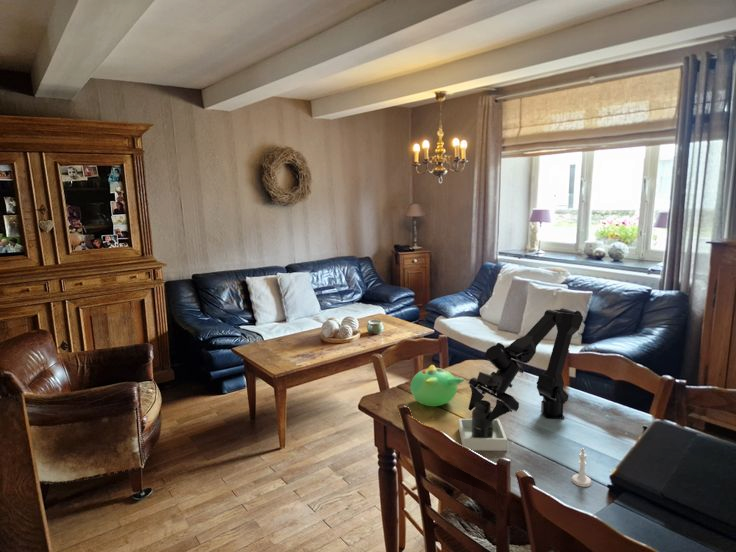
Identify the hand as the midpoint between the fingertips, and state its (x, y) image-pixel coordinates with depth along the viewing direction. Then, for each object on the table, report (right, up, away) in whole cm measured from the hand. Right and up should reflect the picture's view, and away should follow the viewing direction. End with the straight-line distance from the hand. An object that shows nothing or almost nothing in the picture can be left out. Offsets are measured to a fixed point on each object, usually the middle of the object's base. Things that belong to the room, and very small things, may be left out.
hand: (478, 415), depth 151 cm
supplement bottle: (+2, -8, +2) cm, 8 cm away
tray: (+1, -9, +2) cm, 9 cm away
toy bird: (-10, -5, +29) cm, 31 cm away
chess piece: (+24, -12, -22) cm, 34 cm away
